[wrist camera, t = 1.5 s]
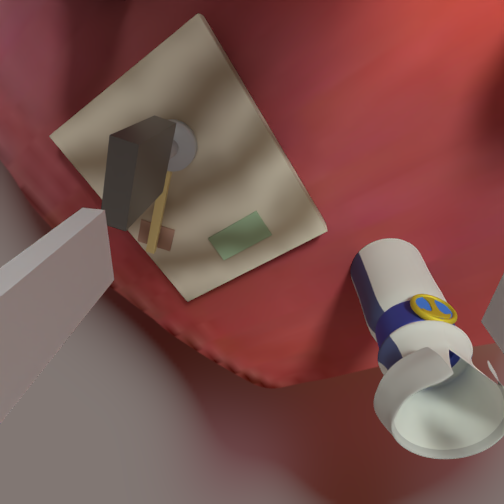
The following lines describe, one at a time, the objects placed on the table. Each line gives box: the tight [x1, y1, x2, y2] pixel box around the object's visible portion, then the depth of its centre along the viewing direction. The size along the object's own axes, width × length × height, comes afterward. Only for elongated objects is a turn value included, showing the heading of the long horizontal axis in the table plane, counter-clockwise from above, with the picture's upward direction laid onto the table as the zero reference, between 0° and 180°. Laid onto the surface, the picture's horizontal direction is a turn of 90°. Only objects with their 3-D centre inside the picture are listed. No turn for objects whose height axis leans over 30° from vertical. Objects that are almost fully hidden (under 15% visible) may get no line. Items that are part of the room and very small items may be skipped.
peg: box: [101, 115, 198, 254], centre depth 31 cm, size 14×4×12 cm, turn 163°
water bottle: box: [351, 238, 504, 459], centre depth 29 cm, size 8×9×25 cm
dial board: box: [49, 13, 327, 302], centre depth 37 cm, size 22×18×2 cm
